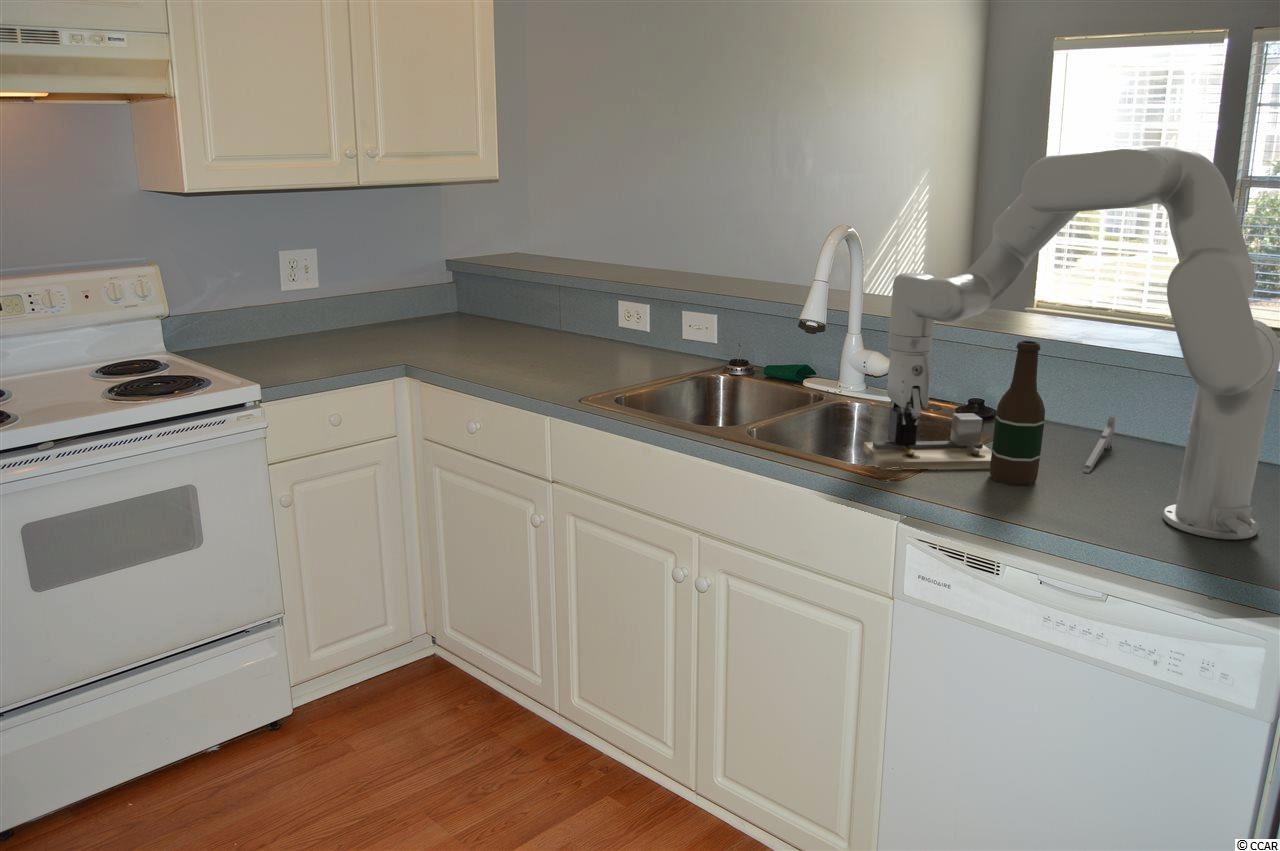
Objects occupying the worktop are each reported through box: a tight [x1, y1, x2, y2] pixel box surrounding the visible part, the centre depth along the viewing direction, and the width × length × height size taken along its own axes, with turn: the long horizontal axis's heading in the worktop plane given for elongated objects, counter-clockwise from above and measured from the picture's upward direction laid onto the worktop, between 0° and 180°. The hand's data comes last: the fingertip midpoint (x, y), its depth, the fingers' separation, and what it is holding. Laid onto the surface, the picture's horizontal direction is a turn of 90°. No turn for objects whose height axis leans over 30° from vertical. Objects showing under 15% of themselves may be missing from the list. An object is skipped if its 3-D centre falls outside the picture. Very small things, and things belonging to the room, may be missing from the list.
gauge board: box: [862, 412, 992, 471], centre depth 182 cm, size 12×22×7 cm, turn 94°
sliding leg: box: [887, 406, 919, 456], centre depth 181 cm, size 8×4×7 cm, turn 4°
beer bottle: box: [989, 340, 1046, 487], centre depth 169 cm, size 8×8×24 cm
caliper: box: [1082, 416, 1116, 474], centre depth 183 cm, size 20×1×6 cm, turn 145°
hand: (901, 440), depth 184 cm, fingers closed on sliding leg, 4 cm apart
